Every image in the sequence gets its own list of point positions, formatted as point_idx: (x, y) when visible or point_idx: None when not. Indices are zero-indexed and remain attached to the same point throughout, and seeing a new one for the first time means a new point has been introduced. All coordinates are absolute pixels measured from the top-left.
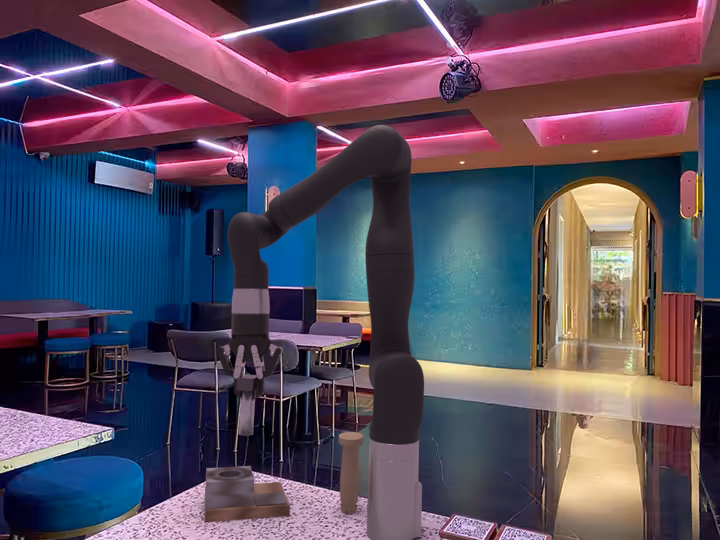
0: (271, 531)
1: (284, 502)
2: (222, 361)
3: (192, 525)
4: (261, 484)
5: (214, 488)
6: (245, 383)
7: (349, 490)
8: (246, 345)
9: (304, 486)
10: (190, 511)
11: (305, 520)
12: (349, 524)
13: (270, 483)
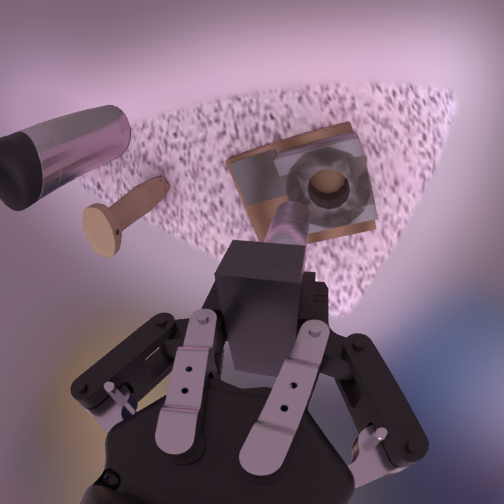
0: (240, 101)
1: (233, 165)
2: (390, 391)
3: (363, 110)
4: None
5: (343, 139)
6: (258, 262)
7: (141, 184)
8: (232, 469)
9: None
10: (381, 162)
11: (204, 145)
12: (151, 145)
13: None
